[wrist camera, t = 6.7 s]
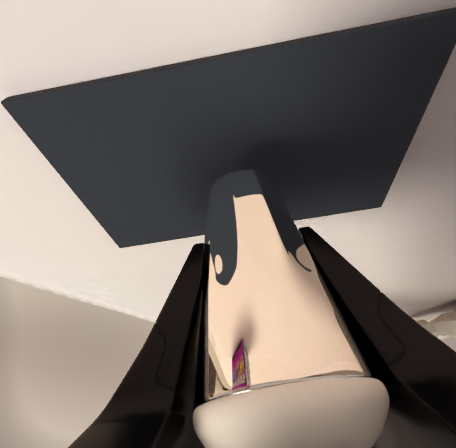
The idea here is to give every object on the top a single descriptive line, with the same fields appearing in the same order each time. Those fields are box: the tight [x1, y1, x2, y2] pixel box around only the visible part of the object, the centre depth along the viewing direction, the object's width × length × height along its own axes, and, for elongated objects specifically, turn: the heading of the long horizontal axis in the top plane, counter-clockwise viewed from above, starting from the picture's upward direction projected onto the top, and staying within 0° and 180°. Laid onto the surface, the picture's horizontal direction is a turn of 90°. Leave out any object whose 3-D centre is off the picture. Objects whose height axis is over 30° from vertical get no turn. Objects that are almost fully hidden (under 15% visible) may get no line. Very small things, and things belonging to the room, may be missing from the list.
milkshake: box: [193, 169, 390, 448], centre depth 8 cm, size 4×5×10 cm
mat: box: [1, 8, 456, 248], centre depth 14 cm, size 11×20×1 cm, turn 98°
